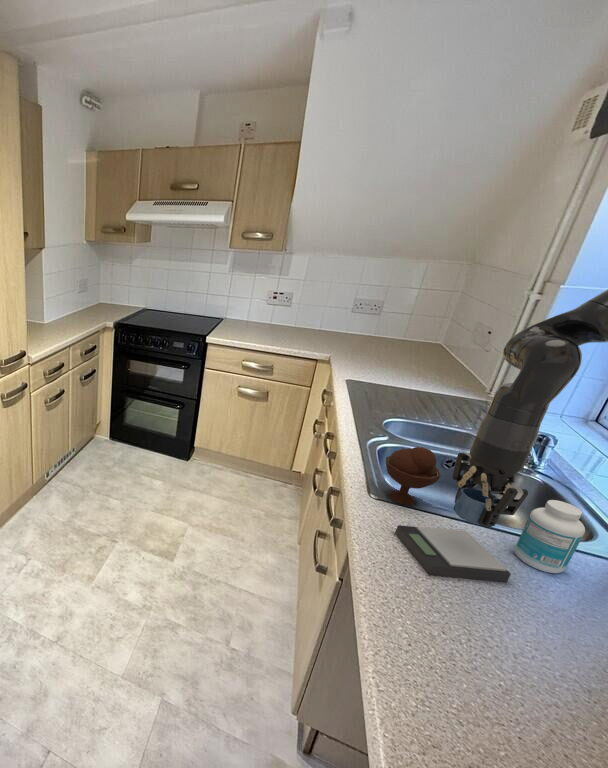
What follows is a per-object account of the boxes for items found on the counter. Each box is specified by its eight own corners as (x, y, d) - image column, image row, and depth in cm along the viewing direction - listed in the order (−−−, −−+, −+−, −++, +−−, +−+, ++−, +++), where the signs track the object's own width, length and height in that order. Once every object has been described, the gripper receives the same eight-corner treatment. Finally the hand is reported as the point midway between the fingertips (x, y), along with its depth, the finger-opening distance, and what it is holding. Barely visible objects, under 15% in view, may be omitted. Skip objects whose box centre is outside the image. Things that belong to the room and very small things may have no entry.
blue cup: (476, 509, 84) (484, 488, 83) (498, 528, 79) (508, 506, 77) (445, 506, 85) (453, 486, 83) (466, 525, 79) (475, 503, 78)
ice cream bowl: (424, 493, 106) (442, 442, 101) (430, 518, 97) (451, 463, 92) (375, 481, 111) (391, 431, 106) (377, 503, 102) (394, 450, 97)
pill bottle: (534, 547, 89) (561, 494, 84) (574, 574, 82) (605, 518, 77) (502, 548, 88) (527, 495, 83) (540, 576, 81) (569, 520, 76)
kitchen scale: (462, 539, 91) (466, 529, 90) (507, 582, 79) (512, 571, 78) (394, 533, 92) (398, 523, 91) (429, 575, 81) (433, 564, 80)
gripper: (563, 461, 69) (523, 542, 75) (495, 424, 82) (466, 494, 88) (514, 458, 69) (479, 538, 75) (454, 421, 83) (428, 491, 89)
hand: (472, 514), depth 82 cm, fingers closed on blue cup, 6 cm apart
